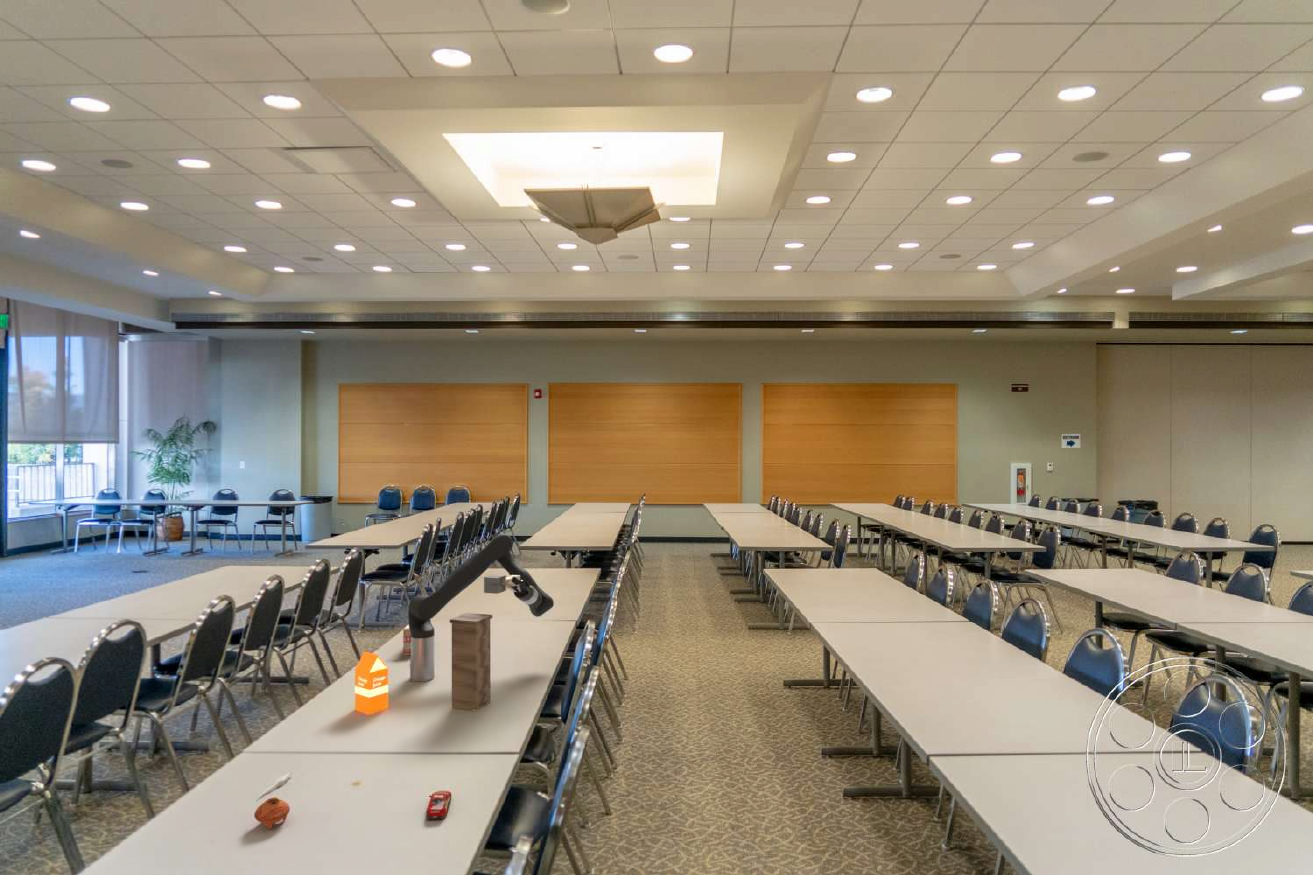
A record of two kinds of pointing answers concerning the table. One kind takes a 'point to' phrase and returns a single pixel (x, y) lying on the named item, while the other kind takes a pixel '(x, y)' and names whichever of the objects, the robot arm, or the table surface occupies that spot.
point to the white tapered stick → (276, 784)
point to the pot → (272, 812)
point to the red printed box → (406, 641)
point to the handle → (498, 583)
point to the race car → (438, 805)
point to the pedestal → (471, 661)
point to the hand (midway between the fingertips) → (508, 578)
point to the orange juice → (371, 684)
